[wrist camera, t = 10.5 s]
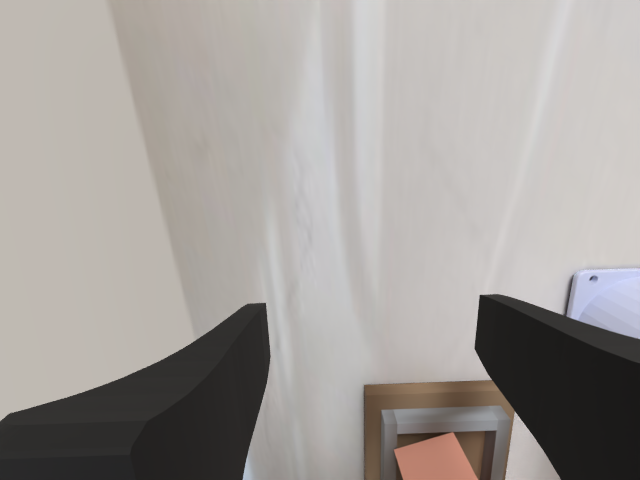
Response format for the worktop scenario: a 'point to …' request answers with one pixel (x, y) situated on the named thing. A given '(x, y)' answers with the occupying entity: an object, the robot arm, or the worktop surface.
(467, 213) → the worktop surface
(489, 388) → the cradle
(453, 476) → the block
